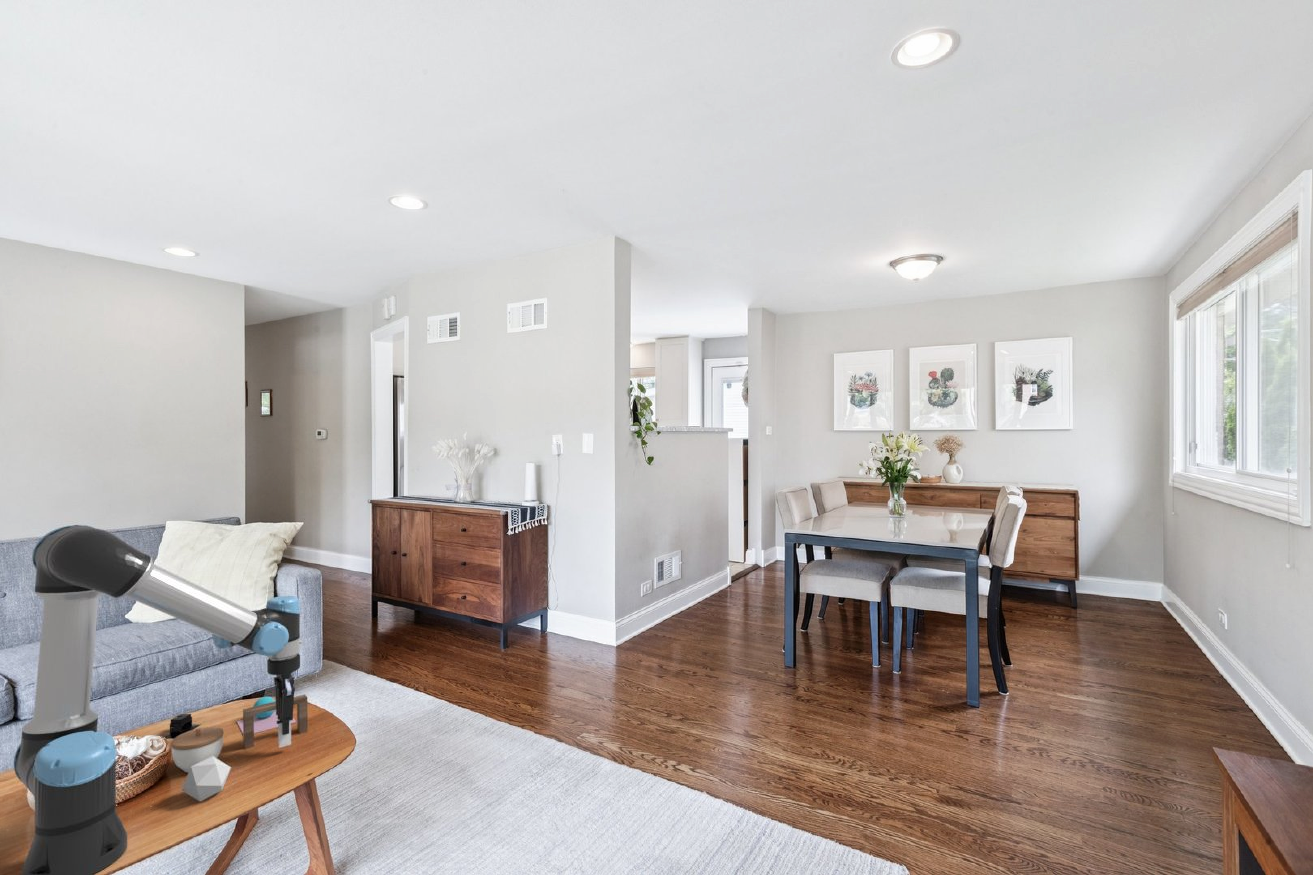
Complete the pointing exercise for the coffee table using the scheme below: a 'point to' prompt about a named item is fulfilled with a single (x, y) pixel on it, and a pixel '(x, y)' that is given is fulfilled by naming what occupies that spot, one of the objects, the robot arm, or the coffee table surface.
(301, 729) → the bridge
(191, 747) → the lidded jar
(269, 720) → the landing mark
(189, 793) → the die
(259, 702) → the ball
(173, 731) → the black block on base
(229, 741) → the coffee table surface
